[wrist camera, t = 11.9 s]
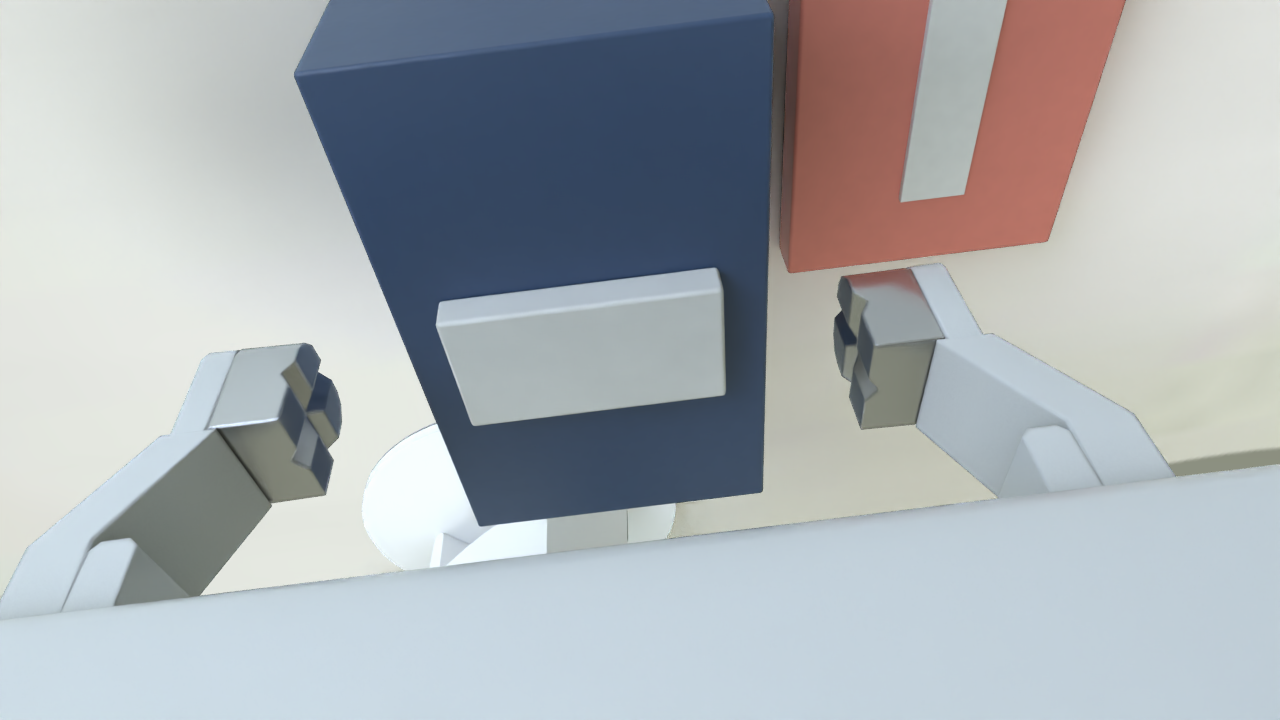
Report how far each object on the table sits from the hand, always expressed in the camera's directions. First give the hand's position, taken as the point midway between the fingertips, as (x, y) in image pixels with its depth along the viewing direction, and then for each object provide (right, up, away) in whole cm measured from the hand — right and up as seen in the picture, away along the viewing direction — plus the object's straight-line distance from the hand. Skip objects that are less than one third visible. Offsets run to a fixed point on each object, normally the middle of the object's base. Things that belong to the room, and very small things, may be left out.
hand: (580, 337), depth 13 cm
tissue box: (-1, +6, +6) cm, 9 cm away
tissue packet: (+8, +7, +6) cm, 12 cm away
